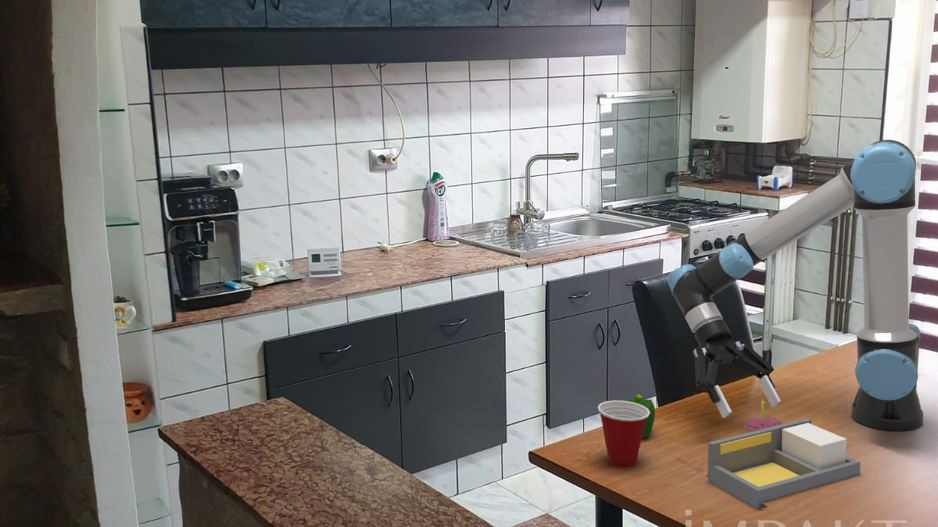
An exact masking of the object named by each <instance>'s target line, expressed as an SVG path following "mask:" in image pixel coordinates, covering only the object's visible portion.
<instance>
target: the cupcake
mask: <svg viewBox="0 0 938 527" xmlns="http://www.w3.org/2000/svg"><path fill="white" fill-rule="evenodd" d="M761 399H762V400H761V401H760V402H761V403H760V407H761V408H760V409H761V414H760V415H756V416H752V417H750V418H749V417H748V419H747V420H746V421H745V422H744V426H743V430H744V433H749V432H753V431H757V430H761V429H765V428H769V427H773V426H777V425H782V424H783V423H782V421H780V420H779V419H777V418H776V417H773V416H770V415H767V414H766V413H765V408H766V407H765V401H764V398H761Z"/></svg>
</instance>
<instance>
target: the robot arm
mask: <svg viewBox="0 0 938 527" xmlns="http://www.w3.org/2000/svg"><path fill="white" fill-rule="evenodd" d="M916 170H917V160H916V157H915V155H914V153H913V151H912V150H911V148H909V147H908V146H907V145H906V144H905V143H902V142H900V141H898V140H894V139H882V140H879V141H877V140H876V141H875V142H872V143H871V144H869V145H867V147H865V148H863V149H862V150H861V151H860V152H859V153H858V154H857V155H856V156H855V158H854V159H852V160H851V161H850V162H848V163H847V164H846V165H844V166H842V167H841V168H840V173H839V174H838V175H836V176H834V177H833V178H832V179H830V180H829V181H827V182H824V184H822V185H820V186H819V187H817V188H816V189H814V190H812V191H811V192H810V193H808V194H806V195H805V196H803V197H801V198H800V199H798V200H797V201H795V202H794V203H792V204H790V205H788V206H787V207H786V208H784V209H782V210H781V211H779V212H778V213H776V214H775V215H773V216H772V217H770V218H769V219H766V220H765V221H763V222H762V223H760V224H759V225H757V226H755V227H754V228H753V229H751V230H749V231H748V232H746V233H745V234H743V235H742V236H740V237H737V239H735V240H733V241H731V242H729V243H727V244H726V245H724V247H723V248H722V249H721V250H719V251H718V252H717V253H716V254H714V255H713V256H712V257H710V258H709V259H707V260H706V261H705V262H703V263H702V264H701V265H699V266H697V267H695V265H693V264H687V263H686V264H683V265H681V266H680V267H677V268H675V269H673V270H672V271H671V272H670V273H669V274H668V276H667V279H666V280H667V283H668V287H669V288H670V291H671V295H672V297H674V299H675V302H676V303H677V305H678V307H679V308H680V310H681V312H682V314H683V317H684V318H685V320H686V322H687V324H688V326H689V328H690V330H691V332H692V333H694V338H695V340H696V341H697V343H698V346H696V348H695V349H694V350H693V351H692V352H691V354H692V357H693V359H694V371H695V372H694V374H695V389H696V390H699V391H701V390H702V392H703V393H705V394H706V393H707V395H708V396H709V399H710V400H711V402H712V403H713V404H715V405H716V408H717V410H718V411H719V413H720V416H721V417H722V418H723V419H724V418H725V419H726V418H727V417H728V416H729V415H730V414H731V413H732V412H733V411H732V409H731V408H730V405H729V404H728V402H727V399H726V398H725V396H724V394H723V392H722V390H721V388H720V386H719V385H718V384H717V385H715V382H716V377H717V373H718V369H719V366H722V365H724V364H731V363H732V364H734V365H738V366H739V367H740V368H742V369H744V370H745V371H746V372H748V373H750V374H751V375H753V376H755V377H756V378H758V381H757V382H758V384H759V386H760V388H761V390H762V391H763V394H764V395H765V398H766V399H767V401H768V403H769V405H770V407H771V408H774V407H776V406H777V405H778V404H779V403H781V402H782V400H781V399H780V398H781V397H779V394H778V393H777V392H776V386H775V383H774V382H773V380H772V378H771V376H770V375H771V373H773V372H774V371H775V368H774V367H773V366H772V365H771V364H770V363H769V362H767V360H765V359H764V357H762V356H761V355H760V353H758V352H757V351H755V350H754V348H752V347H751V346H750V345H749V343H748V342H747V340H746V339H745V338H744V337H743V338H740V340H738V341H736V342H735V341H734V340H733V339H732V333H731V331H730V329H729V327H728V325H727V323H726V321H725V320H723V316H722V314H721V312H720V310H719V309H718V307H717V305H716V303H715V301H714V299H713V296H715V295H717V294H719V293H720V292H721V291H723V290H725V289H726V288H727V287H729V286H730V285H732V284H733V283H735V282H737V281H738V280H739V279H743V278H744V277H745V276H746V275H747V274H748V273H750V272H751V271H752V270H753V269H754V267H755V266H757V265H758V264H760V263H761V262H763V261H764V260H766V259H767V258H769V257H771V256H772V255H774V254H776V253H778V252H779V251H781V250H782V249H784V248H786V247H788V246H789V245H791V244H792V243H794V242H796V241H797V240H799V239H801V238H802V237H804V236H805V235H807V234H809V233H810V232H812V231H814V230H816V229H817V228H819V227H821V226H822V225H824V224H826V223H827V222H829V221H830V220H832V219H833V218H835V217H837V216H839V215H840V214H842V213H844V212H846V211H847V210H849V209H850V208H852V207H853V209H854V211H855V212H857V213H858V214H859V215H860V216H861V222H862V223H861V224H862V225H861V226H862V227H861V230H862V231H861V233H862V236H861V237H862V271H863V272H862V273H863V275H862V276H863V277H862V279H863V282H862V283H863V318H864V319H863V320H864V322H863V323H864V325H863V327H862V328H861V329H860V330H858V331H857V333H856V343H857V344H856V346H857V349H856V350H857V352H856V353H857V363H856V365H855V368H854V369H855V370H854V371H855V378H856V381H857V383H858V385H859V387H858V390H857V392H856V395H855V397H854V400H853V402H852V404H851V407H850V408H851V409H850V416H851V418H852V420H854V421H855V422H857V423H859V424H861V425H864V426H865V427H869V428H873V429H876V430H877V429H878V430H883V431H892V432H893V431H894V432H895V431H896V432H899V431H900V432H901V431H902V432H903V431H904V432H905V431H910V430H911V431H912V430H916V429H919V428H921V427H922V426H923V424H924V411H923V409H922V408H921V407H922V406H921V402H920V398H919V395H918V391H917V385H918V379H919V373H918V370H919V355H920V340H921V338H922V337H921V330H920V328H919V327H918V326H917V325H915V324H912V323H909V322H910V321H909V317H910V316H909V315H910V314H909V257H908V256H909V254H908V252H909V246H908V245H909V244H908V242H909V240H908V235H909V234H908V214H909V213H911V211H912V210H913V209H914V208H915V207H916ZM705 356H706V357H707V358H708V359H709V360H708V365H707V367H708V368H707V371H706V358H705Z"/></svg>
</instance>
